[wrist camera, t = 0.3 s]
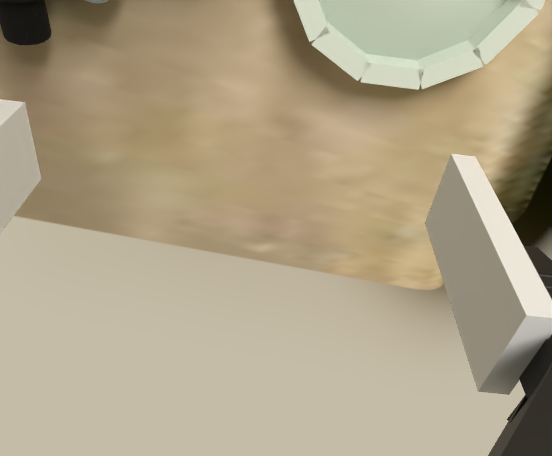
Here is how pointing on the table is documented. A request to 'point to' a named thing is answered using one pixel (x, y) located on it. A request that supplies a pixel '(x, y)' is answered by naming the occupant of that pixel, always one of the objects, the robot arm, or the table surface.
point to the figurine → (26, 21)
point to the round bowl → (413, 36)
